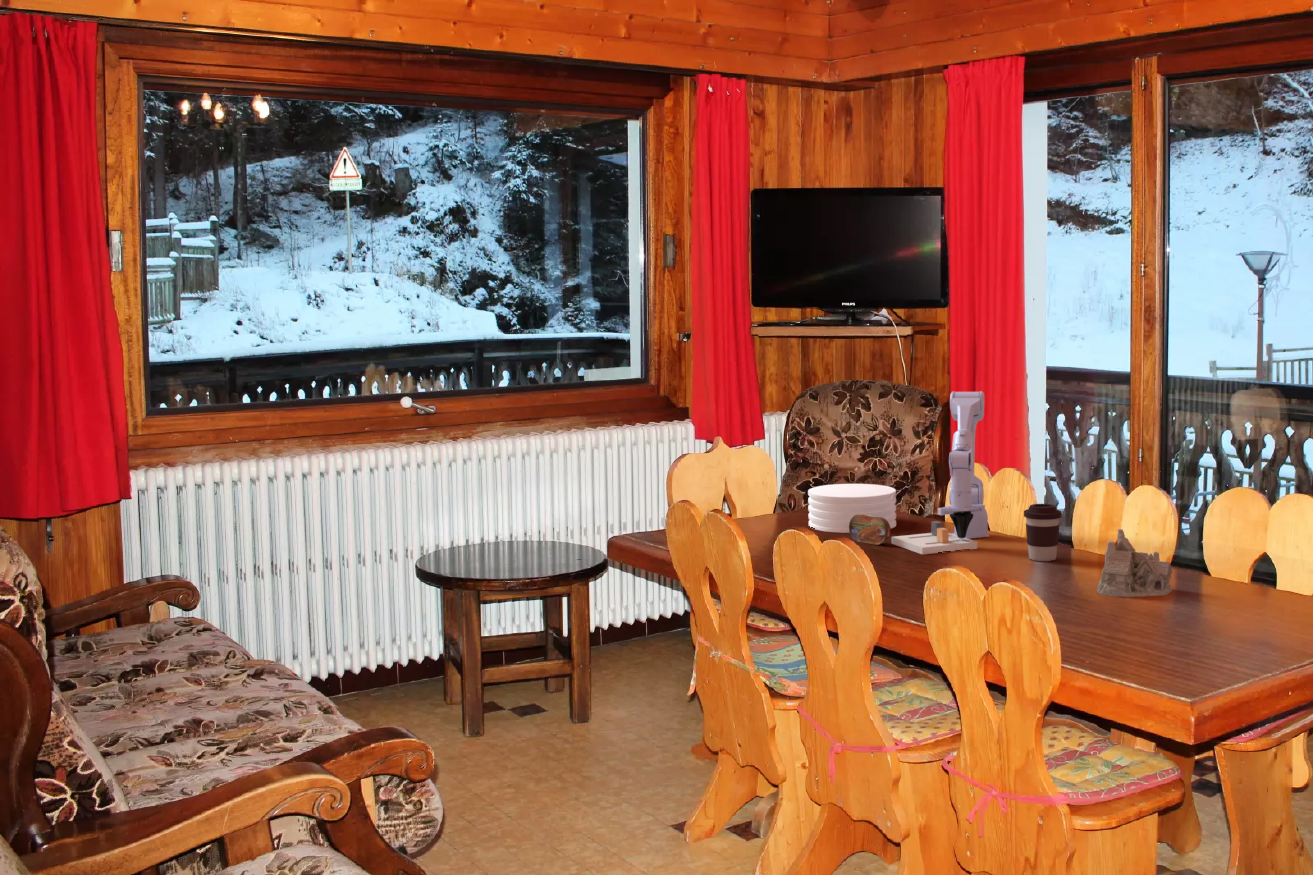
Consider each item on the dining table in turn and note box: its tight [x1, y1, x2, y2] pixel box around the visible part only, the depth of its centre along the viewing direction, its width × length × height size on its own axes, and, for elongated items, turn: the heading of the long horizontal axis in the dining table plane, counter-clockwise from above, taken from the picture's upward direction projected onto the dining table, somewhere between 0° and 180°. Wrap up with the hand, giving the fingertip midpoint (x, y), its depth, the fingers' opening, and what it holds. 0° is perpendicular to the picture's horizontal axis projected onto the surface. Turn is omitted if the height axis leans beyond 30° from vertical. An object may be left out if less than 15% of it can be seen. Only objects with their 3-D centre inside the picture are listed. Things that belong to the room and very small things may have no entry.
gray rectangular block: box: [930, 520, 943, 536], centre depth 380 cm, size 2×3×4 cm, turn 18°
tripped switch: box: [937, 527, 949, 543], centre depth 369 cm, size 2×3×4 cm, turn 18°
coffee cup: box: [1023, 503, 1062, 562], centre depth 351 cm, size 10×10×15 cm
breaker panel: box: [890, 532, 978, 555], centre depth 374 cm, size 18×18×2 cm
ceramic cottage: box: [1096, 528, 1173, 598], centre depth 312 cm, size 16×16×15 cm
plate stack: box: [807, 483, 897, 534], centre depth 412 cm, size 28×28×12 cm
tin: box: [849, 515, 891, 546], centre depth 382 cm, size 15×3×8 cm, turn 37°
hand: (961, 537), depth 371 cm, fingers closed
